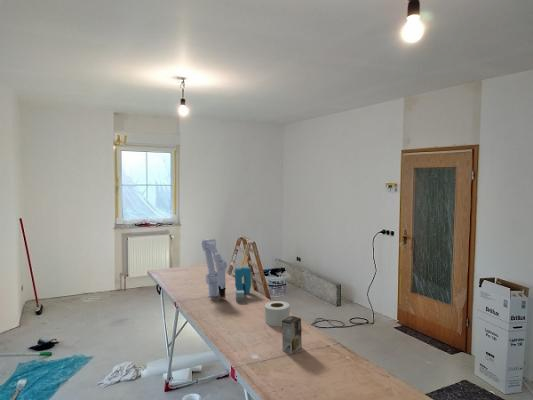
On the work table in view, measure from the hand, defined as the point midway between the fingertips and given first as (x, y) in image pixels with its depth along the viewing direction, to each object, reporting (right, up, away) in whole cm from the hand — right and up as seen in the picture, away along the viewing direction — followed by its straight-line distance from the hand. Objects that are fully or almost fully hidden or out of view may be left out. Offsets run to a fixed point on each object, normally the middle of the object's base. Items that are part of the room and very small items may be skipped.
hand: (221, 295), depth 288 cm
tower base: (+14, -4, -1) cm, 14 cm away
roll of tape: (+40, -6, -45) cm, 60 cm away
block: (+15, -3, +16) cm, 22 cm away
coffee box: (+47, -8, -84) cm, 97 cm away
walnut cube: (0, -1, 0) cm, 1 cm away
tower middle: (+14, 0, -2) cm, 14 cm away
